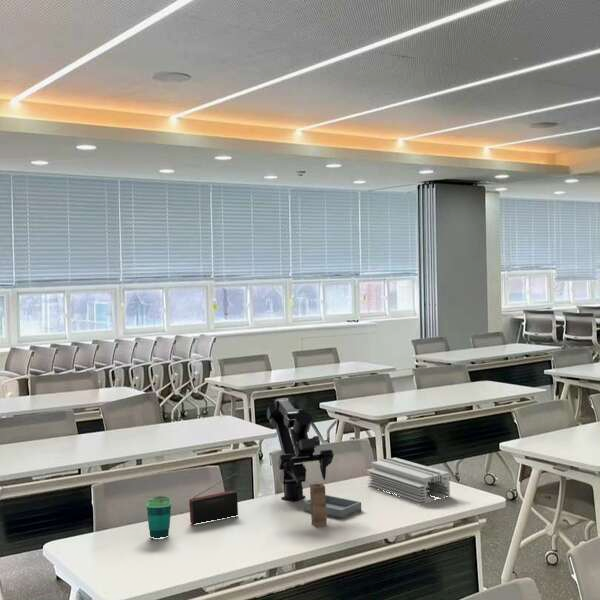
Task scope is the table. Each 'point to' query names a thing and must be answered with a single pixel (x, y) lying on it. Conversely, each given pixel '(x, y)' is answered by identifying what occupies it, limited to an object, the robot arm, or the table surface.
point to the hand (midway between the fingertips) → (311, 480)
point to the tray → (337, 507)
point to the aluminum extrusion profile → (409, 480)
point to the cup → (159, 516)
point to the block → (318, 505)
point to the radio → (213, 506)
